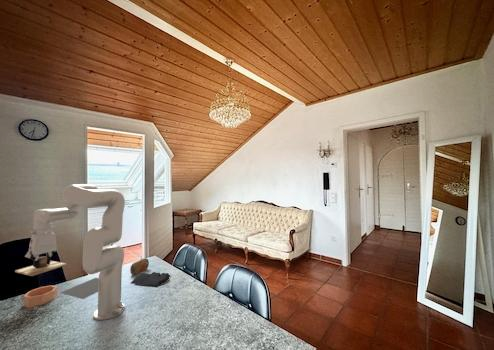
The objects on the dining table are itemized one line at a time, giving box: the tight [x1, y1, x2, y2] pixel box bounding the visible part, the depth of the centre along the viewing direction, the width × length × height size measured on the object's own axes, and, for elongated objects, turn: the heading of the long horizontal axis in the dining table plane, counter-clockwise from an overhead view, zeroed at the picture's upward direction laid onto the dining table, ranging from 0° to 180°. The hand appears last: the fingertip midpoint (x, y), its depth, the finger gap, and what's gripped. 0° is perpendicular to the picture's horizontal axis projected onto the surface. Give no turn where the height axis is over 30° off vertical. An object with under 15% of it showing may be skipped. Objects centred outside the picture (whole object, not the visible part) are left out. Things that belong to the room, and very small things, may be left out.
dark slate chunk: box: [130, 271, 171, 288], centre depth 134 cm, size 15×22×5 cm
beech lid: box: [14, 256, 68, 277], centre depth 113 cm, size 15×15×6 cm
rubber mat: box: [59, 277, 99, 300], centre depth 125 cm, size 20×20×1 cm
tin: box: [129, 258, 150, 276], centre depth 147 cm, size 15×3×8 cm, turn 164°
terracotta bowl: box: [22, 285, 58, 308], centre depth 112 cm, size 12×12×5 cm
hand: (42, 265), depth 113 cm, fingers closed on beech lid, 4 cm apart
